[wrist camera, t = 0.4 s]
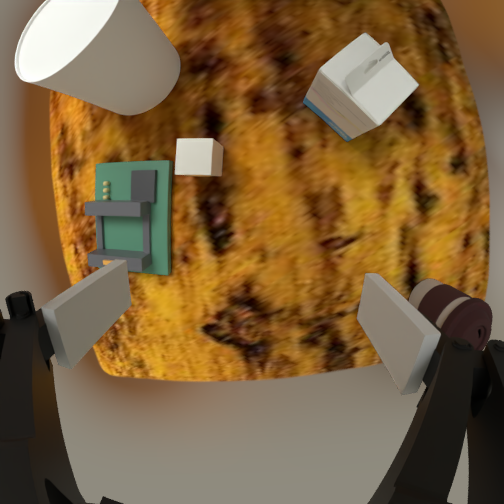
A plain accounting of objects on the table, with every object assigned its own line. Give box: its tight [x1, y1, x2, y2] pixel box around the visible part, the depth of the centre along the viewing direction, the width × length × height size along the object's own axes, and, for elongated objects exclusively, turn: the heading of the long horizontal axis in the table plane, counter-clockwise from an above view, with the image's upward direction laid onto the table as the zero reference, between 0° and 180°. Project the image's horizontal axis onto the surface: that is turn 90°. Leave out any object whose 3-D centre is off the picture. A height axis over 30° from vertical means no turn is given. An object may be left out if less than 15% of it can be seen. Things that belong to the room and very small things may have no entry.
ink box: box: [303, 33, 419, 142], centre depth 26 cm, size 9×8×13 cm
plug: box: [175, 138, 223, 177], centre depth 32 cm, size 4×4×8 cm
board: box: [85, 160, 173, 275], centre depth 35 cm, size 16×12×5 cm
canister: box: [15, 0, 180, 115], centre depth 23 cm, size 14×14×20 cm
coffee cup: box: [409, 279, 492, 350], centre depth 32 cm, size 10×10×15 cm
